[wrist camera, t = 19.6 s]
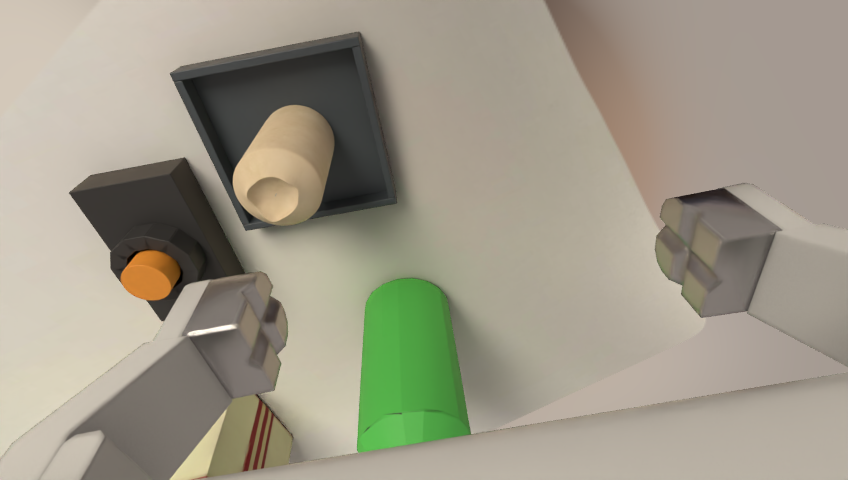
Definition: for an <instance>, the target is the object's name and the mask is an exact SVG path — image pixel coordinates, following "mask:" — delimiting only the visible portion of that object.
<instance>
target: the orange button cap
mask: <svg viewBox="0 0 848 480" xmlns="http://www.w3.org/2000/svg"><path fill="white" fill-rule="evenodd" d="M180 274H181V269H180V266H179V264H178V262H177V261H176V260H175V259H173V258H172V257H170V256H168V255H167V254H165V253H164V252H160V251H156V250H144V251H141V252H139V253H137V254H136V255H135V257H134V258H133V259H132V260H131V262H130V263H129V264H128V265H127V267H126V268H125V269H124V270H123V272H122V274H121V282H122V285H123V286H124V288H125V289H126V290H127V291H128V292H129V293H131V294H132V295H134V296H136V297H138V298H141V299H145V300H160V299H163V298H165V297H166V296H168V295H169V293H170V292H171V290H172V288H173V287H174V285H175V283H176V282H177V280H178V279H179V277H180Z"/></svg>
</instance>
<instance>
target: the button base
mask: <svg viewBox="0 0 848 480" xmlns="http://www.w3.org/2000/svg"><path fill="white" fill-rule="evenodd" d="M69 194H70V195H71V196H72V198H73V199H74V200H75V202H76V203H77V205H78V206H79V207H80V209H81V210H82V212H83V213H84V214H85V216H86V217H87V219H88V220H89V221H90V223H91V224H92V225H93V227H94V228H95V230H96V231H97V232H98V234H99V235H100V237H101V238H102V239H103V241H104V242H105V243H106V245H107V246H108V248H109V249H110V250H111V252H110V262H111V270H112V271H113V273H114V274H115V275H116V277H117V278H118V279H119V281H120V282H121V274H122V272H123V270H124V269H125V268H126V267H127V265H128V264H129V263H130V262H131V260H132V259H133V258H134V257H135V255H136V254H137V253H139V252H141V251H144V250H156V251H160V252H164V253H165V254H167V255H168V256H170V257H172V258H173V259H175V260H176V261H177V262H178V264H179V266H180V269H181V274H180V277H179V279H178V280H177V282H176V283H175V285H174V287H173V288H172V290H171V292H170V293H169V295H168V296H166V297H165V298H163V299H160V300H147V302H148V303H149V304H150V306H151V307H152V309H153V310H154V311H155V313H156V314H157V316H158V317H159V318H160V320H161V321H165V319H166V317H167V316H168V314H169V312H170V310H171V309H172V307H173V305H174V304H175V302H176V300H177V299H178V297H179V295H180V293H181V292H182V290H183V288H184V287H185V286H186V285H188V284H190V283H193V282H199V281H204V280H210V279H216V278H222V277H229V276H235V275H241V274H245V273H244V271H243V269H242V267H241V265H240V263H239V261H238V259H237V257H236V255H235V253H234V252H233V250H232V248H231V246H230V244H229V242H228V240H227V238H226V236H225V234H224V232H223V230H222V228H221V227H220V225H219V223H218V221H217V219H216V217H215V215H214V213H213V211H212V209H211V207H210V205H209V203H208V202H207V200H206V198H205V196H204V194H203V192H202V190H201V188H200V186H199V184H198V182H197V180H196V178H195V177H194V175H193V173H192V171H191V169H190V167H189V165H188V163H187V161H186V159H185V158H180V159H175V160H169V161H164V162H159V163H154V164H148V165H143V166H138V167H132V168H127V169H122V170H116V171H111V172H106V173H100V174H95V175H90V176H89V177H88V178H87V179H85V180H84V181H83V182H82V183H80V184H79V185H78V186H77V187H75V188H74V189H73V190H72V191H70V192H69ZM121 283H122V282H121Z"/></svg>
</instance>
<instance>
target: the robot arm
mask: <svg viewBox="0 0 848 480" xmlns="http://www.w3.org/2000/svg"><path fill="white" fill-rule="evenodd" d="M660 218H661V220H662V221H663V222H664V223H665V227H664V228H663V229H662V230H661V231H660V232H659V233H658V235H657V236H656V245H655V252H656V257H657V262H658V264H659V266H660V268H661V270H662V272H663V273H664V274H665V276H666V277H667V278H668V279H669V280H671V281H674V282H676V283H678V284H680V285H683V286H682V291H681V295H682V296H683V297H684V298H685V300H686V301H687V302H688V303H689V304H690V305H691V307H692V308H693V309H694V310H695V311H696V313H697V314H698V315H699V316H700V317H701V318H704V317H711V316H717V315H724V314H731V313H738V312H745V311H748V312H747V314H749V315H751V316H753V317H755V318H757V319H759V320H760V321H762V322H764V323H766V324H768V325H770V326H772V327H774V328H776V329H778V330H779V331H781V332H783V333H785V334H787V335H789V336H791V337H793V338H794V339H796V340H798V341H800V342H802V343H804V344H806V345H807V346H809V347H811V348H813V349H815V350H817V351H819V352H821V353H823V354H824V355H826V356H828V357H830V358H832V359H834V360H836V361H838V362H839V363H841V364H843V365H845V366H847V367H848V229H844V228H840V227H836V226H832V225H828V224H818V225H815V224H813V223H811V222H810V221H808V220H807V219H805V218H804V217H802V216H801V215H799V214H798V213H796V212H795V211H793V210H792V209H790V208H789V207H787V206H786V205H784V204H783V203H781V202H779V201H778V200H776V199H775V198H773V197H772V196H770V195H769V194H767V193H766V192H764V191H763V190H761V189H760V188H758V187H757V186H755V185H753V184H748V183H742V184H737V185H732V186H727V187H723V188H718V189H716V190H711V191H705V192H701V193H696V194H690V195H685V196H680V197H674V198H669V199H666V200H665V202H664V203H663V205H662V209H661V213H660ZM272 288H273V285H272V284H271V282H270V280H269V278H268V276H267V274H265V273H263V272H261V271H260V272H254V273H247V274H241V275H235V276H229V277H222V278H216V279H210V280H204V281H199V282H193V283H190V284H188V285H186V286H185V287H184V288H183V290H182V292H181V293H180V295H179V297H178V299H177V300H176V302H175V304H174V305H173V307H172V309H171V310H170V312H169V314H168V316H167V317H166V319H165V321H164V322H163V324H162V326H161V327H160V329H159V331H158V333H157V334H156V336H155V338H154V339H153V341H152V342H148V343H144V344H142V345H141V346H140V347H138V348H137V349H136V350H134V351H133V352H132V353H130V354H129V355H128V356H127V357H125V358H124V359H123V360H121V361H120V362H119V363H117V364H116V365H115V366H113V367H112V368H111V369H109V370H108V371H107V372H105V373H104V374H103V375H101V376H100V377H99V378H97V379H96V380H95V381H93V382H92V383H91V384H90V385H88V386H87V387H86V388H84V389H83V390H82V391H80V392H79V393H78V394H76V395H75V396H74V397H72V398H71V399H70V400H68V401H67V402H66V403H64V404H63V405H62V406H60V407H59V408H58V409H56V410H55V411H54V412H53V413H51V414H50V415H49V416H47V417H46V418H45V419H43V420H42V421H41V422H39V423H38V424H37V425H35V426H34V427H33V428H31V429H30V430H29V431H27V432H26V433H25V434H23V435H22V436H21V437H19V438H18V439H17V440H16V441H14V442H13V443H12V444H11V445H10V447H9V448H8V449H7V451H6V452H5V454H4V455H3V456H2V458H1V459H0V480H170V478H171V477H172V476H173V475H174V473H175V472H176V471H177V470H178V469H179V467H180V466H181V465H182V464H183V462H184V461H185V460H186V459H187V457H188V456H189V455H190V454H191V452H192V451H193V450H194V449H195V447H196V446H197V445H198V444H199V442H200V441H201V440H202V439H203V437H204V436H205V435H206V434H207V433H208V431H209V430H210V429H211V428H212V426H213V425H214V424H215V423H216V421H217V420H218V419H219V418H220V416H221V415H222V414H223V413H224V411H225V410H226V409H227V408H228V406H229V405H230V404H231V403H232V401H233V400H232V399H234V398H239V397H244V396H249V395H254V394H259V393H265V392H270V391H274V390H275V386H276V382H277V378H278V374H279V370H280V366H281V362H280V360H279V358H278V356H277V354H278V353H279V352H280V351H281V350H282V349H283V348H284V347H285V346H286V341H287V337H288V322H287V318H286V314H285V310H284V308H283V306H282V304H281V302H279V301H278V300H276V299H274V298H273V297H271V296H270V294H271V291H272ZM196 480H848V373H841V374H835V375H829V376H822V377H817V378H810V379H804V380H798V381H792V382H786V383H780V384H774V385H768V386H762V387H755V388H749V389H743V390H737V391H731V392H725V393H719V394H713V395H707V396H701V397H695V398H689V399H683V400H677V401H670V402H665V403H658V404H652V405H647V406H641V407H634V408H628V409H622V410H616V411H610V412H604V413H598V414H592V415H585V416H580V417H574V418H567V419H561V420H555V421H549V422H543V423H537V424H531V425H525V426H518V427H512V428H506V429H500V430H494V431H488V432H482V433H476V434H470V435H464V436H457V437H451V438H445V439H439V440H433V441H427V442H421V443H415V444H409V445H403V446H396V447H390V448H384V449H378V450H372V451H366V452H360V453H354V454H348V455H342V456H336V457H330V458H324V459H317V460H311V461H305V462H299V463H293V464H287V465H281V466H275V467H269V468H263V469H257V470H251V471H244V472H238V473H232V474H226V475H220V476H214V477H208V478H202V479H196Z"/></svg>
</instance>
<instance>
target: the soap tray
mask: <svg viewBox="0 0 848 480" xmlns="http://www.w3.org/2000/svg"><path fill="white" fill-rule="evenodd" d="M170 75H171V77H172V79H173V81H174V83H175V86H176V88H177V90H178V92H179V94H180V96H181V98H182V100H183V102H184V104H185V106H186V108H187V110H188V112H189V114H190V117H191V119H192V121H193V123H194V125H195V127H196V129H197V131H198V133H199V135H200V137H201V139H202V141H203V143H204V146H205V148H206V150H207V152H208V154H209V156H210V158H211V160H212V162H213V164H214V166H215V168H216V170H217V172H218V174H219V177H220V179H221V181H222V183H223V185H224V187H225V189H226V191H227V193H228V195H229V197H230V199H231V201H232V203H233V206H234V208H235V210H236V212H237V214H238V216H239V218H240V220H241V222H242V224H243V226H244V228H245V230H246V231H247V230H253V229H258V228H264V227H269V226H275V225H274V224H270V223H267V222H264V221H262V220H260V219H258V218H256V217H254V216H253V215H251V214H250V213H249V212H248V211H247V210H246V209H245V208H244V207H243V206H242V205H241V204H240V202H239V200H238V199H237V197H236V195H235V192H234V188H233V174H234V171H235V168H236V166H237V165H238V163H239V161H240V160H241V158H242V157H243V155H244V154H245V152H246V151H247V149H248V148H249V146H250V145H251V143H252V141H253V140H254V138H255V137H256V135H257V134H258V132H259V131H260V129H261V128H262V126H263V125H264V123H265V122H266V120H267V119H268V118H269V116H270V115H271V114H272V113H273V112H275V111H276V110H278V109H280V108H282V107H285V106H289V105H301V106H306V107H309V108H311V109H313V110H315V111H317V112H318V113H319V114H321V115H322V116H323V117H324V118H325V119H326V120H327V122H328V123H329V125H330V126H331V129H332V131H333V135H334V141H335V146H334V152H333V156H332V160H331V165H330V169H329V173H328V177H327V181H326V185H325V189H324V193H323V197H322V201H321V204H320V206H319V208H318V210H317V211H316V212H315V213H314V214H313V215H312V216H311V217H310V218H309V219H313V218H319V217H324V216H330V215H335V214H341V213H346V212H352V211H357V210H363V209H368V208H374V207H379V206H385V205H391V204H396V203H397V196H396V188H395V184H394V180H393V175H392V171H391V167H390V162H389V158H388V154H387V149H386V145H385V140H384V136H383V132H382V127H381V123H380V119H379V114H378V110H377V106H376V101H375V97H374V92H373V88H372V84H371V79H370V75H369V71H368V66H367V62H366V57H365V53H364V49H363V44H362V40H361V36H360V32H355V33H349V34H344V35H339V36H334V37H329V38H324V39H319V40H314V41H308V42H303V43H298V44H293V45H288V46H283V47H278V48H273V49H267V50H262V51H257V52H252V53H247V54H242V55H237V56H232V57H227V58H221V59H216V60H211V61H206V62H201V63H196V64H191V65H186V66H181V67H179V68H178V69H176V70H174V71H173V72H171V73H170ZM307 220H308V219H307Z"/></svg>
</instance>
